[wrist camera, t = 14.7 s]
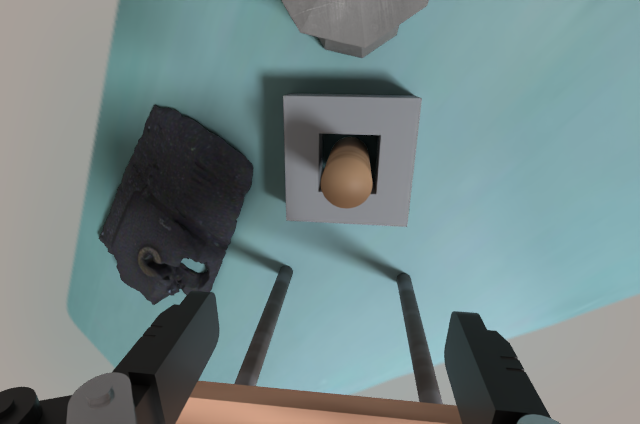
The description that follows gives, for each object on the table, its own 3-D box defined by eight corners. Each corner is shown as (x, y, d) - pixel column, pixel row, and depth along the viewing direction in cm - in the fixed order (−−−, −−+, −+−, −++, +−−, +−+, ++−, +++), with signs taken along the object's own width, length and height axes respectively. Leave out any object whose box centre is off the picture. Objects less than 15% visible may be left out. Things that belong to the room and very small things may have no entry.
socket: (291, 93, 34) (283, 95, 31) (414, 95, 33) (421, 98, 29) (293, 206, 39) (286, 220, 35) (402, 211, 38) (407, 226, 34)
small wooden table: (276, 213, 39) (169, 395, 17) (419, 221, 38) (507, 429, 16) (278, 281, 43) (192, 506, 20) (410, 290, 41) (472, 543, 19)
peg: (330, 136, 35) (320, 158, 26) (370, 137, 35) (374, 159, 26) (330, 174, 37) (320, 207, 28) (367, 175, 37) (370, 209, 27)
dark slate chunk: (282, 169, 38) (272, 181, 33) (203, 305, 46) (186, 329, 41) (155, 91, 36) (127, 93, 32) (96, 246, 44) (67, 265, 40)
